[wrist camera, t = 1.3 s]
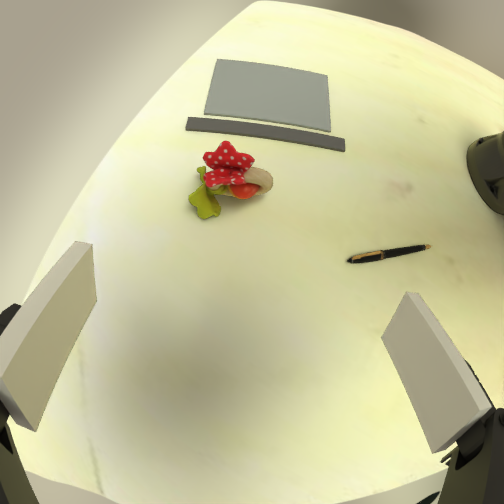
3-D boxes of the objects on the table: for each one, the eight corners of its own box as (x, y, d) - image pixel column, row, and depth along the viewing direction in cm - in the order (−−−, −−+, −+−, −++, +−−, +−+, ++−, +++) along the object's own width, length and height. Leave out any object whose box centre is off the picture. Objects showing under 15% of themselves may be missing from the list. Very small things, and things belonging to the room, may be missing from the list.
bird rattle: (243, 177, 40) (177, 170, 36) (292, 135, 31) (212, 118, 26) (248, 222, 39) (179, 219, 34) (302, 188, 30) (217, 177, 25)
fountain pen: (428, 242, 39) (434, 240, 38) (430, 250, 39) (436, 248, 37) (343, 257, 37) (348, 255, 36) (345, 266, 37) (350, 264, 36)
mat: (338, 79, 44) (338, 77, 43) (343, 152, 40) (345, 150, 40) (205, 59, 42) (205, 57, 42) (185, 130, 39) (185, 128, 38)
